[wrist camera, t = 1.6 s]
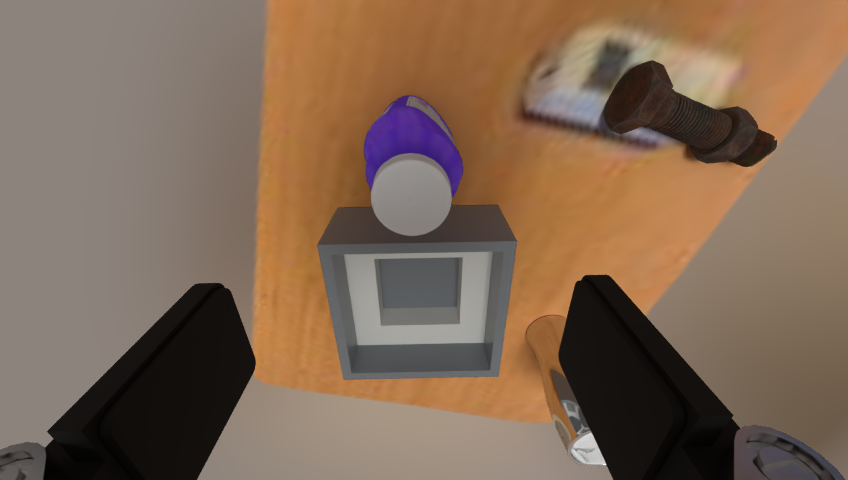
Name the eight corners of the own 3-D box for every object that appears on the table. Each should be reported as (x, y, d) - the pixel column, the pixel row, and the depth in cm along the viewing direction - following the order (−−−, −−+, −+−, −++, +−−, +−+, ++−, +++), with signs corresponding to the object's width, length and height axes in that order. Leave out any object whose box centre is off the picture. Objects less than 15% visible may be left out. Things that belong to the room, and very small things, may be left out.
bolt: (719, 149, 35) (599, 98, 32) (776, 110, 31) (644, 48, 28) (740, 191, 32) (609, 140, 29) (807, 155, 27) (662, 90, 24)
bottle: (367, 124, 31) (317, 187, 16) (411, 79, 29) (403, 103, 14) (419, 179, 34) (419, 279, 19) (462, 141, 32) (502, 217, 17)
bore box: (337, 207, 35) (317, 244, 28) (497, 204, 35) (517, 241, 28) (355, 327, 43) (343, 379, 36) (485, 325, 43) (498, 376, 36)
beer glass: (541, 305, 42) (597, 418, 29) (586, 322, 43) (658, 436, 30) (512, 341, 45) (550, 459, 32) (554, 356, 46) (608, 474, 33)
